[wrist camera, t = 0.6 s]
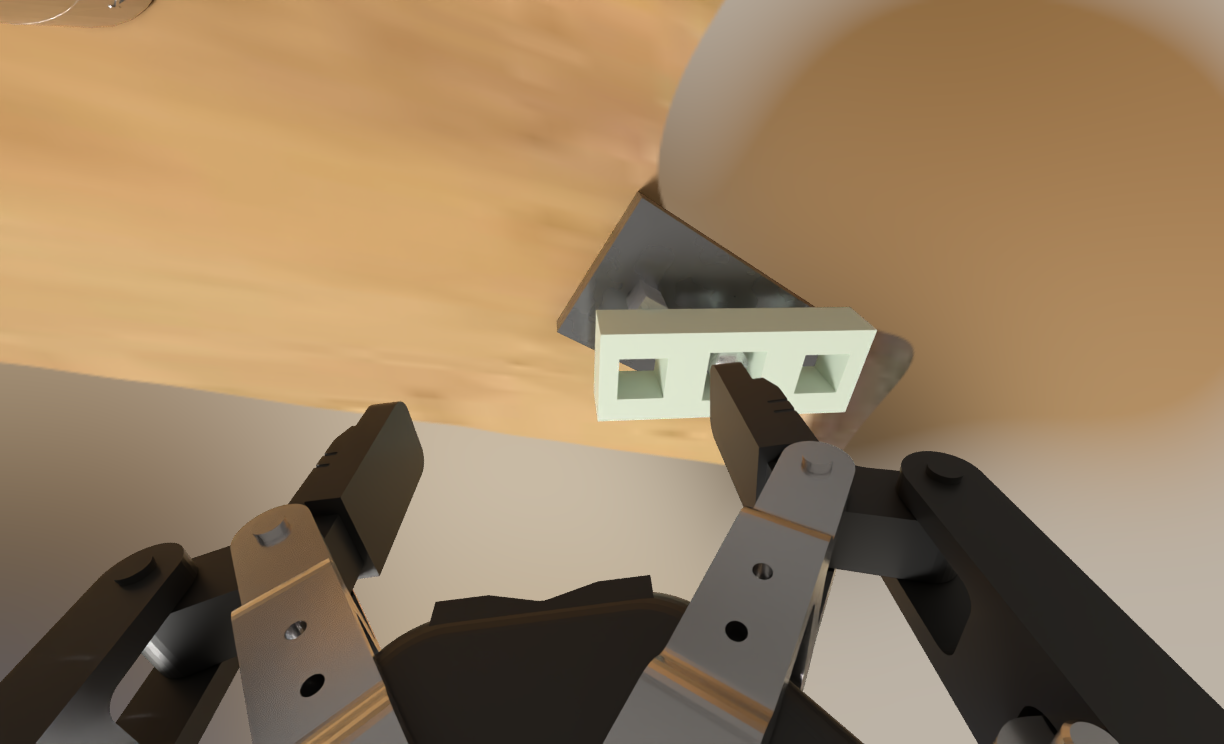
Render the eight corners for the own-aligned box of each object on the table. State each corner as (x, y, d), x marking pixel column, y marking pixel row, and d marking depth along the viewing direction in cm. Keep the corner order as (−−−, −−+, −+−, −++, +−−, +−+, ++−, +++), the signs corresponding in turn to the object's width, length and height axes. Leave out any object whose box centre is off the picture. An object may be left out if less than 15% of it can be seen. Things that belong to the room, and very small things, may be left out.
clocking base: (556, 321, 33) (558, 369, 28) (637, 191, 29) (656, 220, 24) (749, 416, 40) (777, 468, 35) (837, 321, 36) (884, 365, 31)
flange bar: (593, 392, 32) (597, 421, 29) (595, 309, 28) (600, 334, 26) (823, 385, 34) (845, 412, 31) (850, 306, 30) (876, 330, 28)
